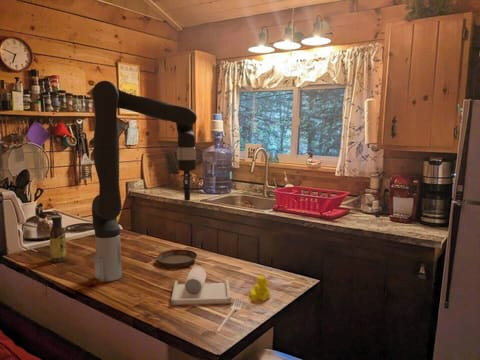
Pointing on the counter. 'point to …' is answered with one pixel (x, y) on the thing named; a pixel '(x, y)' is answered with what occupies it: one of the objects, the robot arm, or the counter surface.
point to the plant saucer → (177, 258)
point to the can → (195, 280)
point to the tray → (202, 294)
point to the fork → (231, 312)
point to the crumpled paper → (260, 290)
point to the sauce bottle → (57, 240)
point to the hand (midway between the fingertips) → (187, 200)
